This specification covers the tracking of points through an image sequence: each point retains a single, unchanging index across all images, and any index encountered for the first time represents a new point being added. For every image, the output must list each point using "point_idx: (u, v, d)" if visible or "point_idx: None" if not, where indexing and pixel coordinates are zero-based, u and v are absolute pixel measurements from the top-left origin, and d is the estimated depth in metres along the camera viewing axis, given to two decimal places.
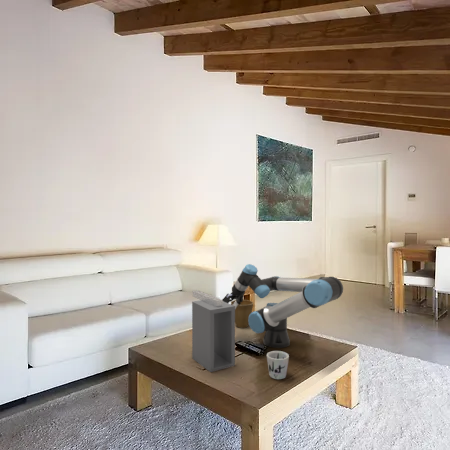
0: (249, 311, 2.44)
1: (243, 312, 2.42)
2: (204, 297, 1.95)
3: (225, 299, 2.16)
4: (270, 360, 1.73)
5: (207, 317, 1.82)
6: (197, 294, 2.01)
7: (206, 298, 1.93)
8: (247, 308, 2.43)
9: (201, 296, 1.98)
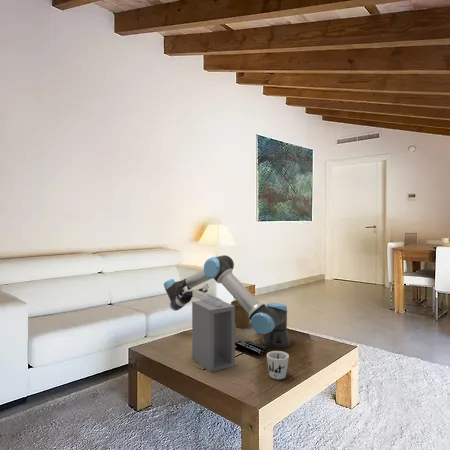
0: None
1: (243, 312, 2.42)
2: (204, 297, 1.95)
3: None
4: (270, 360, 1.73)
5: (207, 317, 1.82)
6: (197, 294, 2.01)
7: (206, 298, 1.93)
8: None
9: (201, 296, 1.98)
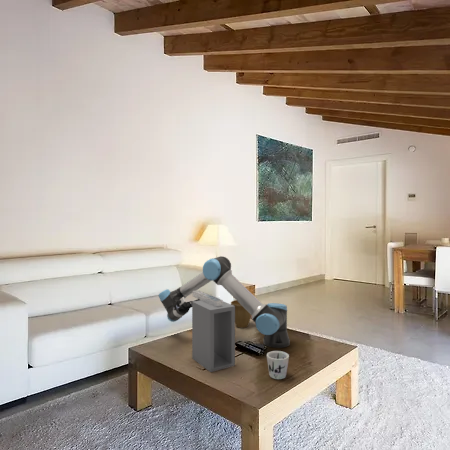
0: None
1: (243, 312, 2.42)
2: (204, 297, 1.95)
3: None
4: (270, 360, 1.73)
5: (207, 317, 1.82)
6: (197, 294, 2.01)
7: (206, 298, 1.93)
8: None
9: (201, 296, 1.98)
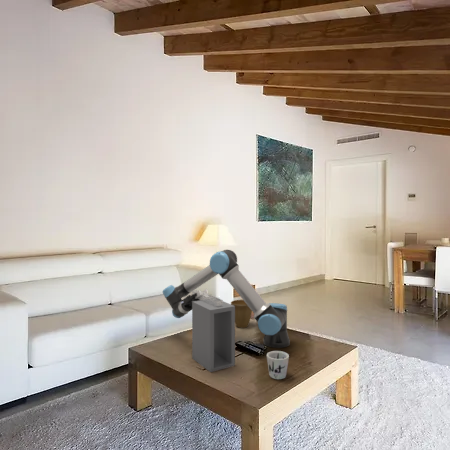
0: (249, 311, 2.44)
1: (243, 312, 2.42)
2: (204, 297, 1.95)
3: (184, 300, 2.06)
4: (270, 360, 1.73)
5: (207, 317, 1.82)
6: None
7: (206, 298, 1.93)
8: (247, 308, 2.43)
9: (201, 296, 1.98)
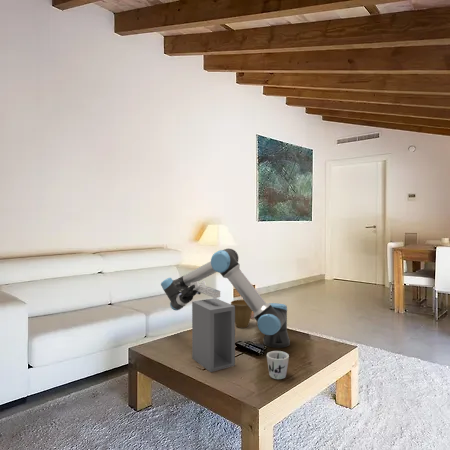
0: (249, 311, 2.44)
1: (243, 312, 2.42)
2: (202, 288, 1.96)
3: (182, 292, 2.07)
4: (270, 360, 1.73)
5: (207, 317, 1.82)
6: None
7: (204, 289, 1.94)
8: (247, 308, 2.43)
9: (199, 287, 1.99)
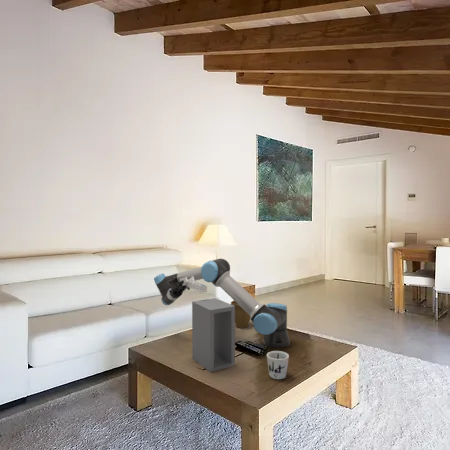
0: None
1: (243, 312, 2.42)
2: (190, 284, 2.07)
3: (171, 287, 2.19)
4: (270, 360, 1.73)
5: (207, 317, 1.82)
6: None
7: (192, 284, 2.06)
8: None
9: (187, 283, 2.10)
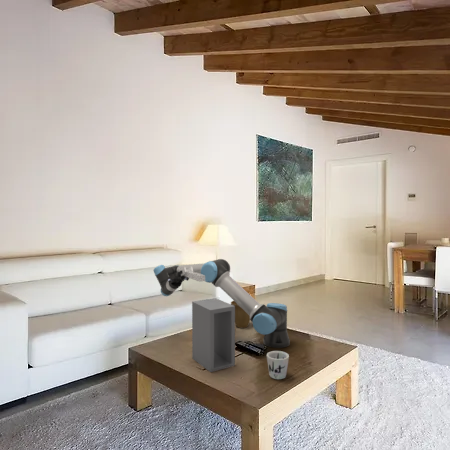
0: None
1: (243, 312, 2.42)
2: (188, 273, 2.10)
3: (170, 278, 2.21)
4: (270, 360, 1.73)
5: (207, 317, 1.82)
6: None
7: (190, 274, 2.08)
8: None
9: (186, 273, 2.12)
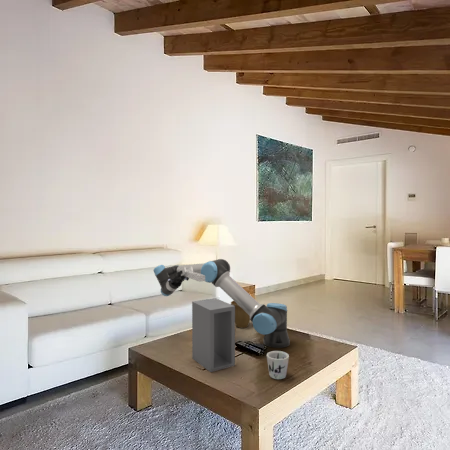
0: None
1: (243, 312, 2.42)
2: (188, 273, 2.10)
3: (170, 278, 2.21)
4: (270, 360, 1.73)
5: (207, 317, 1.82)
6: None
7: (190, 274, 2.08)
8: None
9: (186, 273, 2.12)
